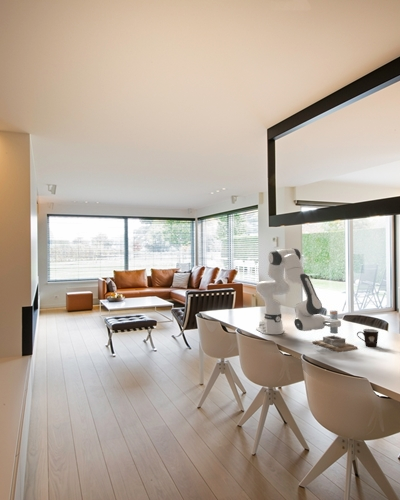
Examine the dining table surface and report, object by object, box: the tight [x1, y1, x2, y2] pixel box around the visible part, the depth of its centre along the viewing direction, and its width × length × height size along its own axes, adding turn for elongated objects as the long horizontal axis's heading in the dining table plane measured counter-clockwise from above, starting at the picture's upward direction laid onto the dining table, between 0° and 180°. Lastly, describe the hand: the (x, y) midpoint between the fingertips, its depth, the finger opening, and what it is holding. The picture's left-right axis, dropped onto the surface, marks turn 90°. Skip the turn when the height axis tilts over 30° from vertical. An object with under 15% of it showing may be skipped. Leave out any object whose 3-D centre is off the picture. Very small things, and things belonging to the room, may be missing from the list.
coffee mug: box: [356, 328, 379, 349], centre depth 216 cm, size 12×9×10 cm
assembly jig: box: [311, 334, 358, 353], centre depth 216 cm, size 22×16×5 cm
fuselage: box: [329, 310, 339, 335], centre depth 216 cm, size 4×4×14 cm
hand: (334, 320), depth 217 cm, fingers closed on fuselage, 4 cm apart
